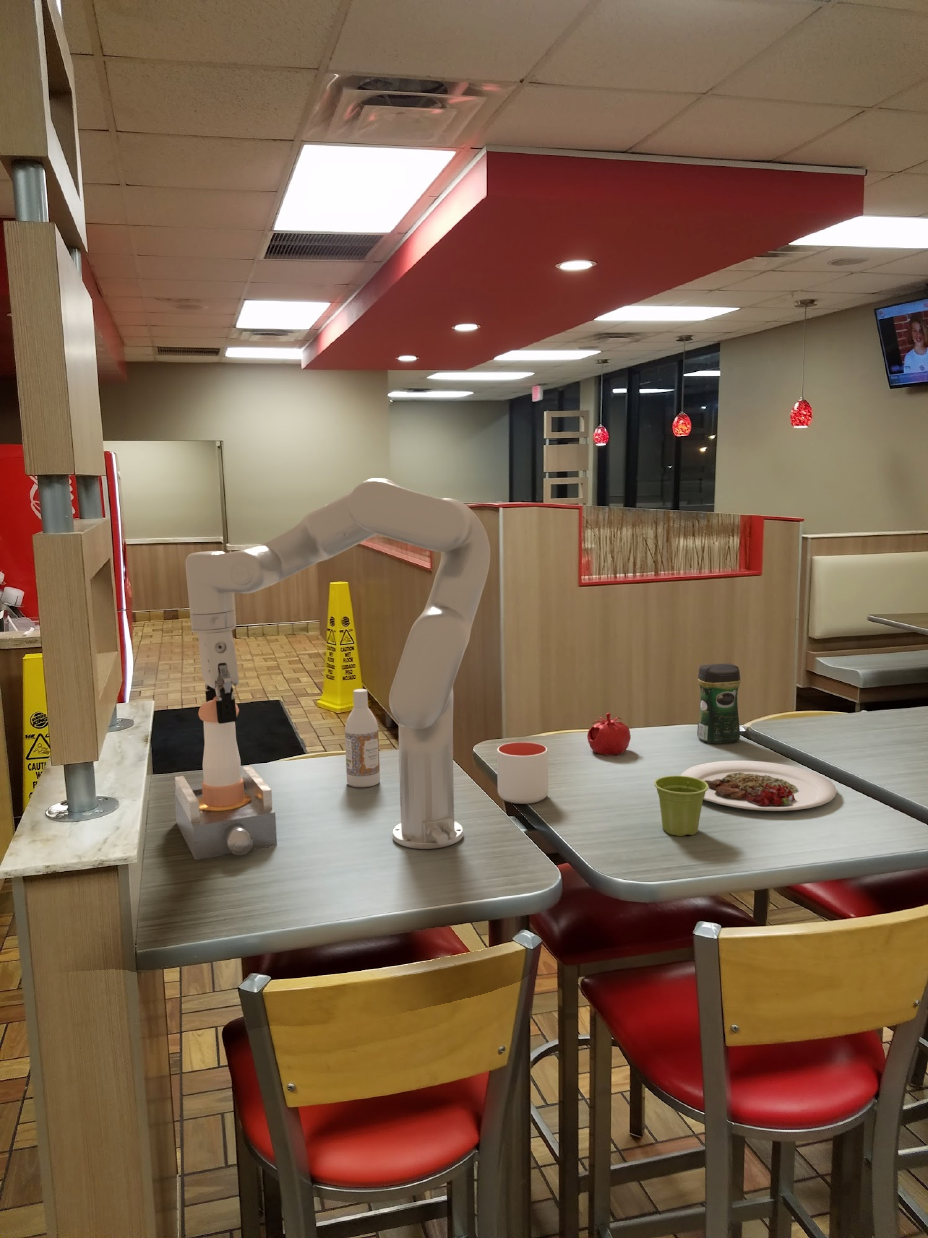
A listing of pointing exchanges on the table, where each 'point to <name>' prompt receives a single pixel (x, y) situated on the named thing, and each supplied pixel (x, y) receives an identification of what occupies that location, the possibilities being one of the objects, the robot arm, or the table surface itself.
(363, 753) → the bath foam
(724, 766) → the plated food
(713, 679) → the coffee jar
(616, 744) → the pomegranate
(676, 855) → the table surface
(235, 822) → the portable stove
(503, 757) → the cup
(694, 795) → the plant pot
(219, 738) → the pepper shaker
